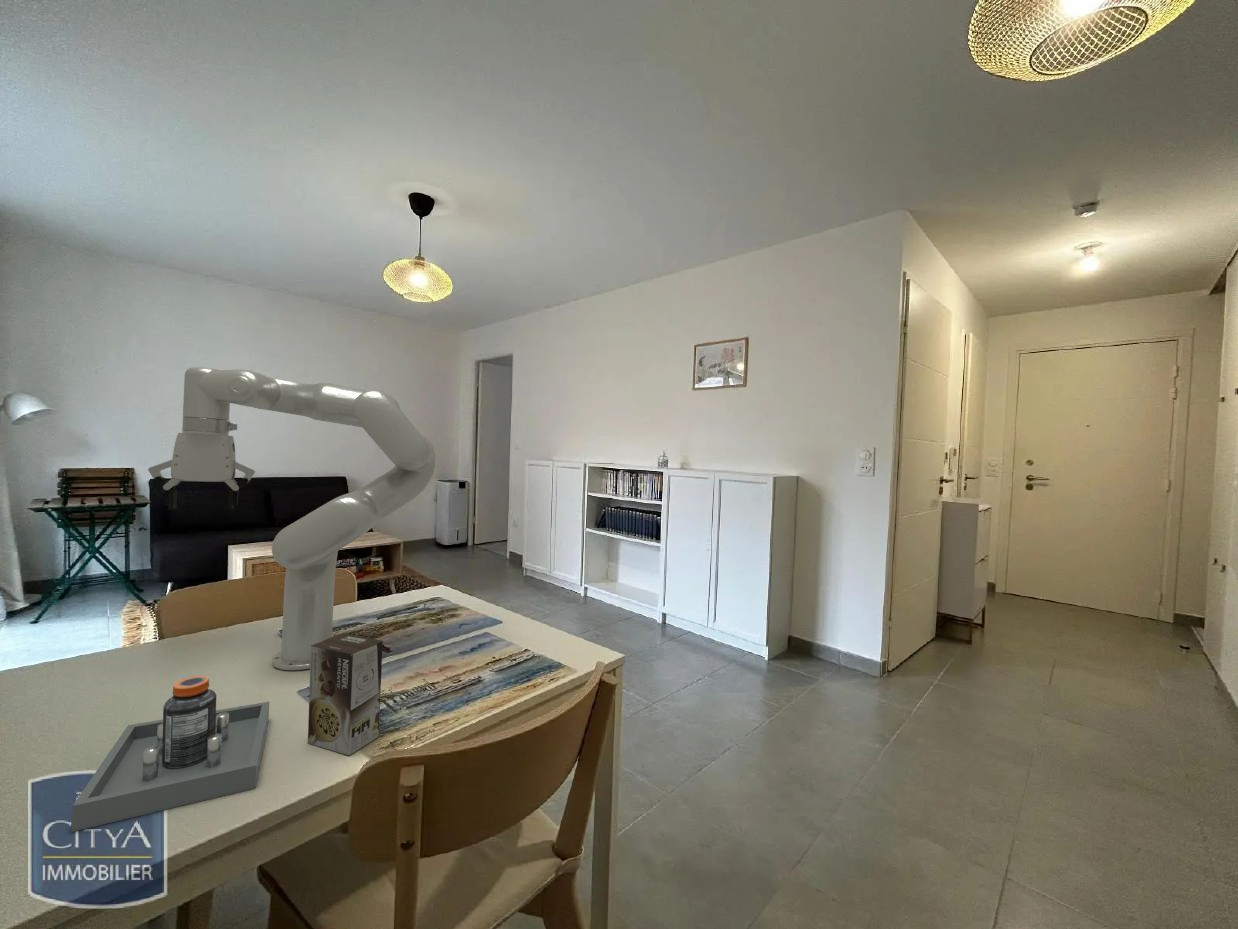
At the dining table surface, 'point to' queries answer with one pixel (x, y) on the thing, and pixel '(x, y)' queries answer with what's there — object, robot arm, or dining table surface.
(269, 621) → the dining table surface
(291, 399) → the robot arm
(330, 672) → the coffee box
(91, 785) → the pin tray
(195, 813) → the dining table surface
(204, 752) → the pill bottle
